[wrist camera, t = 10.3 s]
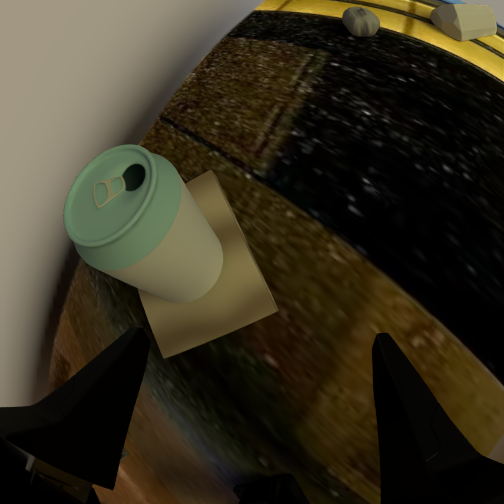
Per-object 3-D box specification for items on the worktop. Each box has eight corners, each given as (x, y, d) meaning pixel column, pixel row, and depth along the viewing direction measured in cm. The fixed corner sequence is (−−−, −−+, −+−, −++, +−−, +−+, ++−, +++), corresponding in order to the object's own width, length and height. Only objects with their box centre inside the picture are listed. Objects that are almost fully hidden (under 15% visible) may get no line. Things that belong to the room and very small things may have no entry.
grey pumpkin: (376, 47, 26) (380, 19, 21) (338, 37, 27) (339, 9, 22) (379, 29, 27) (382, 4, 22) (344, 20, 28) (345, -5, 23)
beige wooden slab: (279, 310, 24) (276, 311, 21) (175, 354, 25) (163, 358, 22) (219, 180, 27) (211, 169, 25) (132, 230, 28) (119, 224, 26)
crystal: (469, 0, 21) (418, 1, 23) (495, 6, 16) (451, 4, 18) (475, 27, 26) (428, 36, 28) (500, 35, 21) (460, 43, 23)
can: (173, 214, 24) (105, 127, 13) (239, 242, 23) (197, 147, 12) (135, 281, 23) (37, 228, 12) (199, 319, 21) (111, 287, 10)
